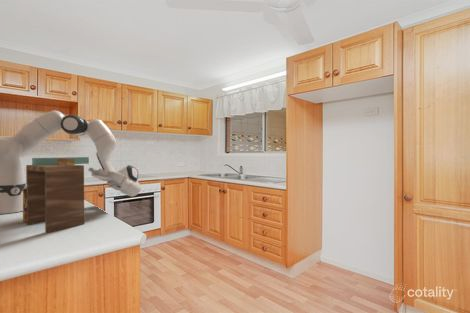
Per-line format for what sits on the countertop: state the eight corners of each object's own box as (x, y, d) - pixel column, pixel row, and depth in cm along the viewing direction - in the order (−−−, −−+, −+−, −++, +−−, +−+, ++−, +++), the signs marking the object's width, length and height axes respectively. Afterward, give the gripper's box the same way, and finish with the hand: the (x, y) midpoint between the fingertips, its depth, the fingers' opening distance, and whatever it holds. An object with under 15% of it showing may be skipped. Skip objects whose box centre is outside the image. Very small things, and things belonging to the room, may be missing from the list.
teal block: (32, 165, 107) (32, 157, 107) (85, 163, 125) (85, 157, 125) (35, 165, 105) (35, 158, 105) (88, 163, 124) (88, 157, 124)
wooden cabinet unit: (26, 224, 108) (26, 158, 108) (62, 217, 120) (62, 157, 119) (47, 232, 98) (46, 159, 97) (84, 224, 110) (83, 158, 109)
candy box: (22, 222, 111) (22, 188, 111) (24, 220, 115) (23, 187, 114) (47, 219, 116) (47, 187, 115) (48, 217, 119) (47, 186, 119)
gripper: (108, 174, 145) (86, 163, 135) (129, 176, 134) (108, 164, 124) (102, 184, 142) (80, 173, 132) (124, 187, 132) (102, 176, 121)
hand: (94, 169), depth 128 cm, fingers open, 8 cm apart
